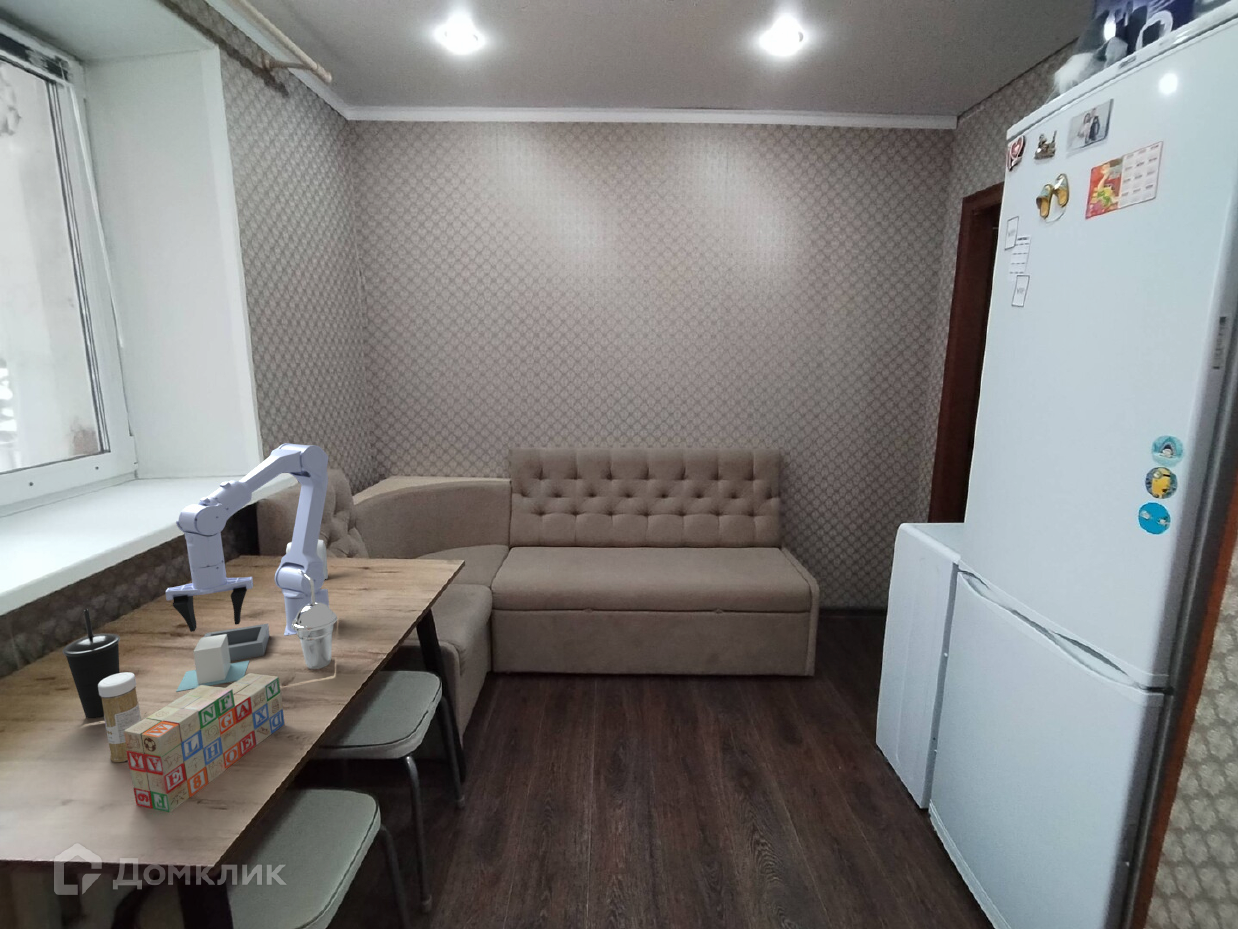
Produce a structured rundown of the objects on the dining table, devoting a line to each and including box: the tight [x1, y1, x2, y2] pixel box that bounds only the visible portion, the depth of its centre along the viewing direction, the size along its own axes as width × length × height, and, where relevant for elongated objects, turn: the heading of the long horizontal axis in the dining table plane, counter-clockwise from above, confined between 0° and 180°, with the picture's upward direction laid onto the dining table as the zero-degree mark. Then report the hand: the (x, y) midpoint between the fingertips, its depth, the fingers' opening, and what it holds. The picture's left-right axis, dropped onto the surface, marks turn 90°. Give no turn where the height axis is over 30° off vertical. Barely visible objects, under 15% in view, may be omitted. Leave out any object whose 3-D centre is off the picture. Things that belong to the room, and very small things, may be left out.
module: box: [192, 634, 231, 684], centre depth 119 cm, size 4×6×7 cm
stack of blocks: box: [124, 672, 285, 813], centre depth 94 cm, size 21×6×12 cm, turn 167°
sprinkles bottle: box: [98, 671, 142, 763], centre depth 95 cm, size 5×5×13 cm
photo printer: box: [285, 538, 329, 581], centre depth 171 cm, size 10×4×12 cm, turn 110°
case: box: [203, 623, 270, 662], centre depth 129 cm, size 12×10×4 cm
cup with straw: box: [292, 570, 338, 670], centre depth 123 cm, size 8×9×20 cm
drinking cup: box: [62, 608, 121, 719], centre depth 106 cm, size 8×8×20 cm
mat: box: [175, 660, 250, 693], centre depth 119 cm, size 11×8×1 cm
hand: (215, 626), depth 122 cm, fingers open, 7 cm apart
